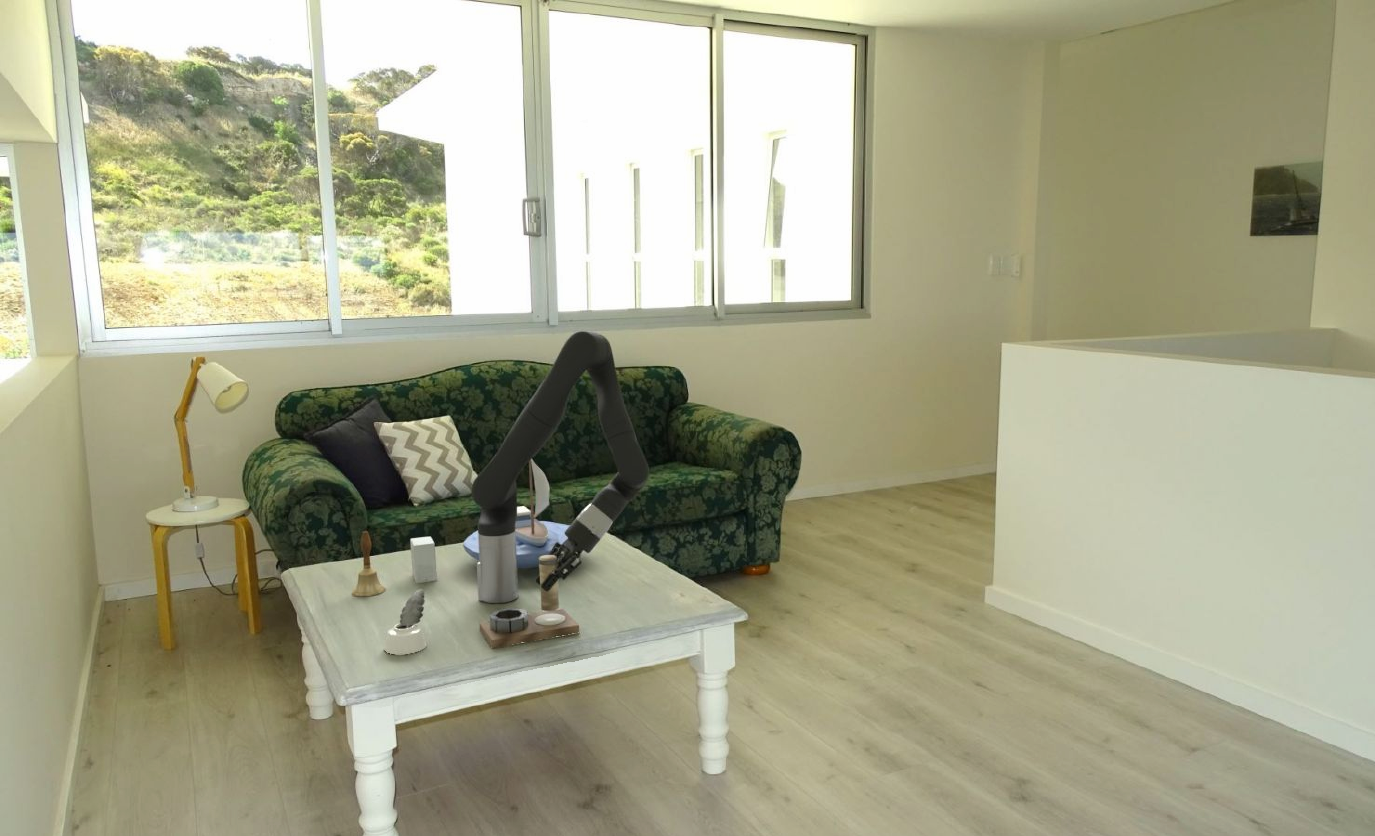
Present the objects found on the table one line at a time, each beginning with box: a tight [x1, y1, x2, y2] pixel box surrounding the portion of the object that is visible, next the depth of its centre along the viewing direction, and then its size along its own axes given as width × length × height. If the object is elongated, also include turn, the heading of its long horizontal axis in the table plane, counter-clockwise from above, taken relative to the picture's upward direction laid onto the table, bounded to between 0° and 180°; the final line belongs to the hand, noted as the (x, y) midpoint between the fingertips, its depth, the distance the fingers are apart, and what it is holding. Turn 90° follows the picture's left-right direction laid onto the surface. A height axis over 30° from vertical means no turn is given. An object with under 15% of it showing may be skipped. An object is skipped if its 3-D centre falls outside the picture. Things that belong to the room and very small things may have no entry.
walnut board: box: [478, 608, 580, 650], centre depth 224 cm, size 20×12×2 cm, turn 115°
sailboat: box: [462, 458, 571, 570], centre depth 276 cm, size 34×35×32 cm
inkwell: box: [383, 589, 428, 656], centre depth 220 cm, size 9×18×10 cm, turn 179°
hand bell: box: [351, 530, 387, 597], centre depth 254 cm, size 8×8×16 cm
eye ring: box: [489, 607, 529, 634], centre depth 222 cm, size 8×8×3 cm
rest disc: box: [535, 614, 565, 626], centre depth 226 cm, size 7×7×1 cm
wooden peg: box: [538, 555, 560, 612], centre depth 225 cm, size 4×4×12 cm
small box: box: [409, 536, 438, 584], centre depth 265 cm, size 8×6×10 cm
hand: (541, 586), depth 224 cm, fingers closed on wooden peg, 4 cm apart
